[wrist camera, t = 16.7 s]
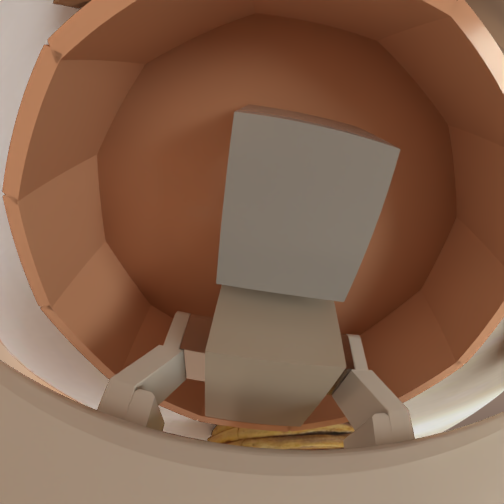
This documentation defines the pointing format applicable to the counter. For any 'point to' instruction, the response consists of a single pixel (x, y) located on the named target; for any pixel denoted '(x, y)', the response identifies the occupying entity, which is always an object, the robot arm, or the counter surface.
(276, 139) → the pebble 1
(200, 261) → the bowl
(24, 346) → the counter surface
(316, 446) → the tankard
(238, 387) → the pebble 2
